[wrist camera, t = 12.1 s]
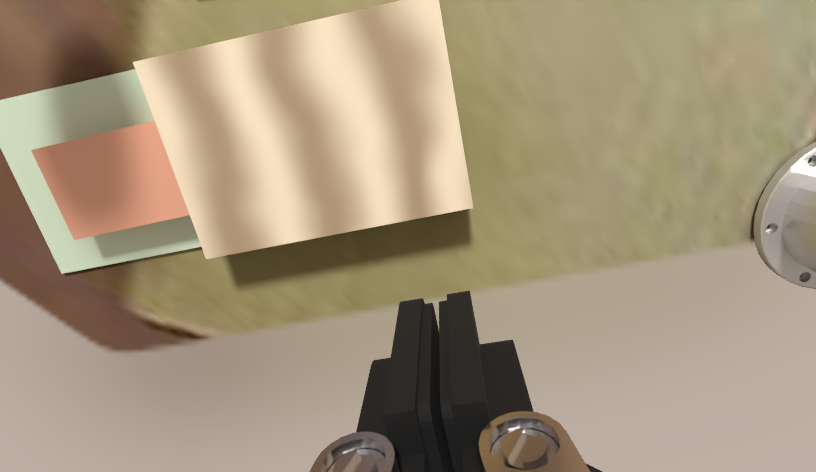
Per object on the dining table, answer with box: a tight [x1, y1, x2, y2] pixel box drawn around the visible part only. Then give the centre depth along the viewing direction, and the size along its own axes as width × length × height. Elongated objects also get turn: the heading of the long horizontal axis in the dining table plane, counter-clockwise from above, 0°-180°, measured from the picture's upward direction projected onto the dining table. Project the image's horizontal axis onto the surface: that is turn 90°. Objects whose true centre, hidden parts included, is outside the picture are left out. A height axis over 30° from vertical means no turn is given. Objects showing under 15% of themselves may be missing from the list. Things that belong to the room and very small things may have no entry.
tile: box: [31, 121, 190, 240], centre depth 36 cm, size 10×7×2 cm
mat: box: [0, 69, 201, 274], centre depth 37 cm, size 14×14×1 cm
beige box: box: [133, 0, 473, 259], centre depth 34 cm, size 20×14×4 cm
